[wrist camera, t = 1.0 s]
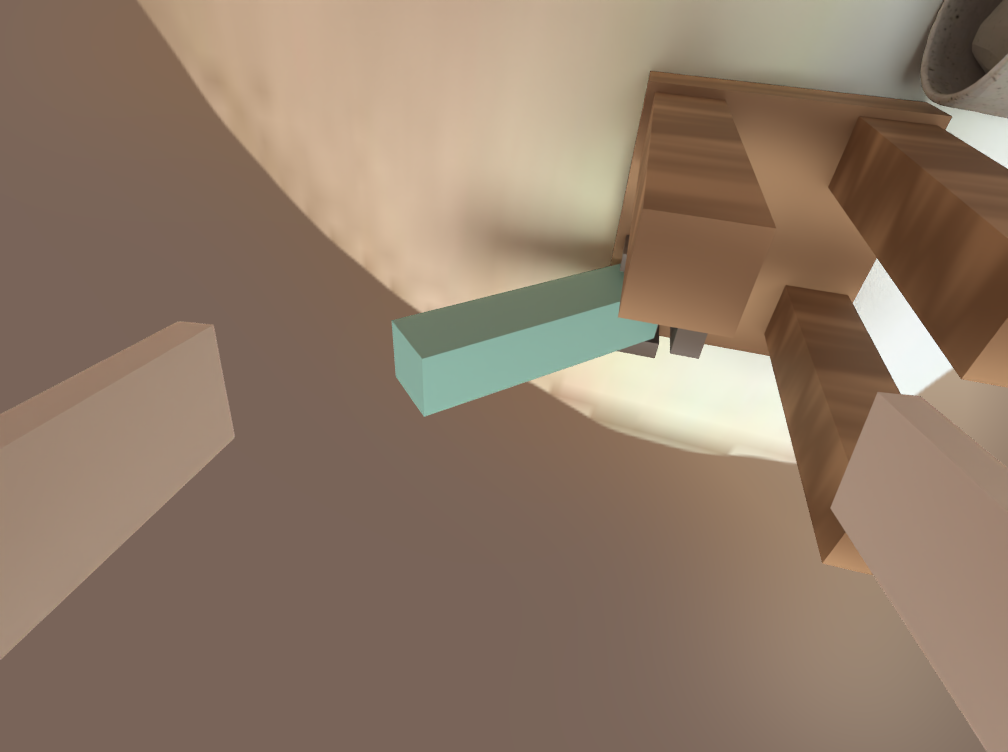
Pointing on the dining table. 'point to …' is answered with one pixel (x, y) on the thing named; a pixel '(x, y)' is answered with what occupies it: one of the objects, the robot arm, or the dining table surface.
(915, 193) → the upturned wooden stool
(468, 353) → the hinged leg
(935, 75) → the ceramic mug
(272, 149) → the dining table surface
